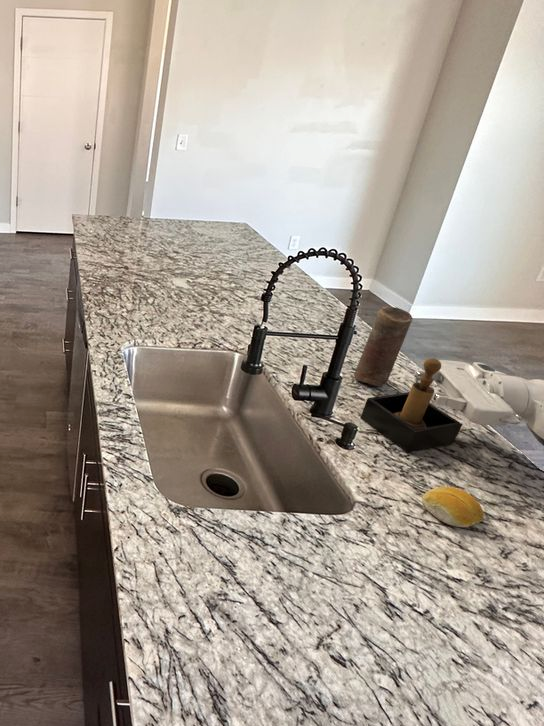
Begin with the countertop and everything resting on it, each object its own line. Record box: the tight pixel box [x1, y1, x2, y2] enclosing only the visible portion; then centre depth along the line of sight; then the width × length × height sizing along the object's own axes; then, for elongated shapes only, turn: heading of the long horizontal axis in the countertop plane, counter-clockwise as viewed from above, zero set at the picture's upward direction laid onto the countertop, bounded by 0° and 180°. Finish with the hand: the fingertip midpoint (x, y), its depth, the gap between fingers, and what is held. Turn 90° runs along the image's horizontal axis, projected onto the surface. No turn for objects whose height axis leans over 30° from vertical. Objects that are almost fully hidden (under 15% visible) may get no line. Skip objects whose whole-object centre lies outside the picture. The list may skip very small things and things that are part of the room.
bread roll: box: [422, 486, 484, 528], centre depth 98 cm, size 8×9×4 cm
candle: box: [353, 306, 413, 387], centre depth 135 cm, size 8×7×20 cm
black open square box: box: [360, 391, 463, 454], centre depth 119 cm, size 13×13×6 cm
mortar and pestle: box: [394, 357, 441, 429], centre depth 116 cm, size 7×6×18 cm
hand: (425, 386), depth 116 cm, fingers open, 8 cm apart
